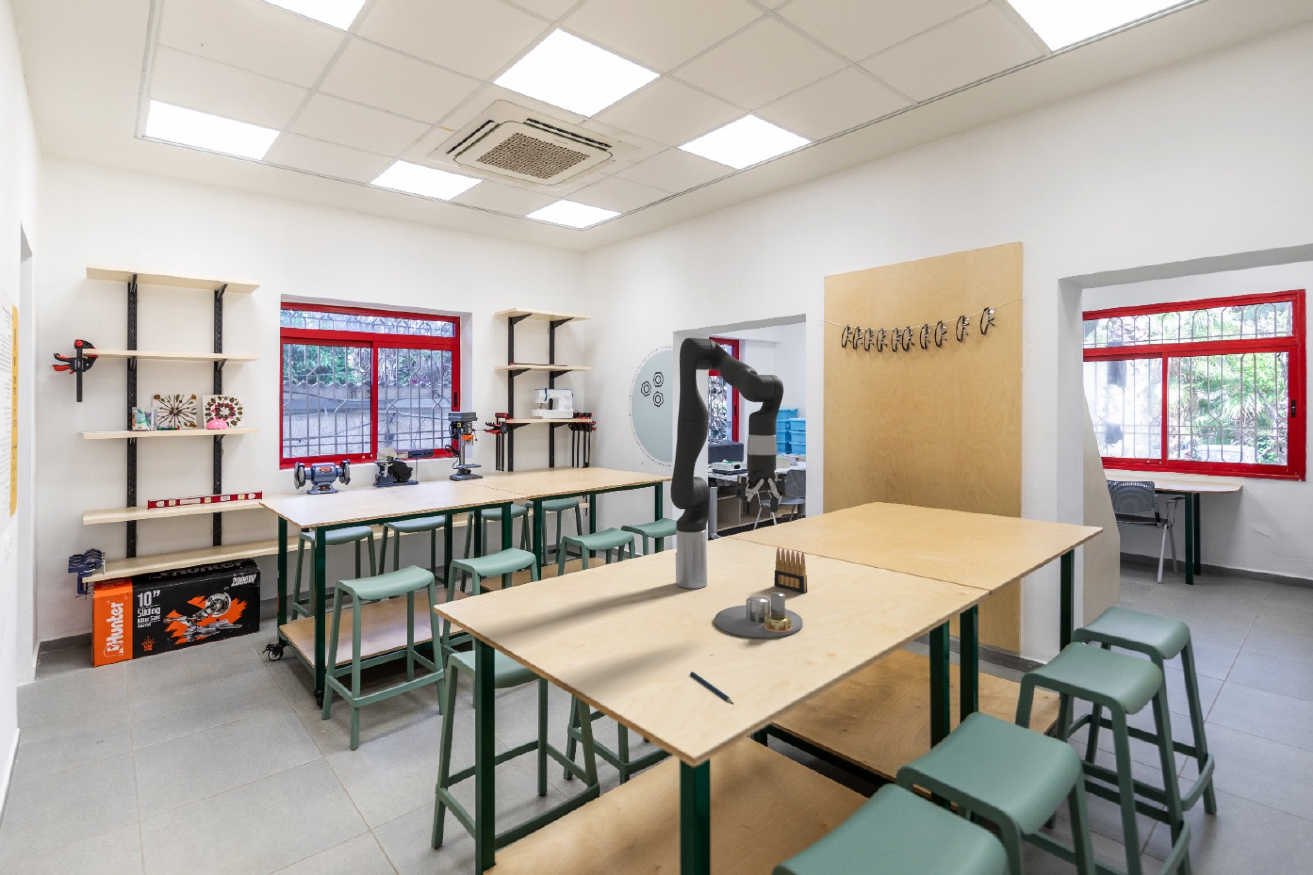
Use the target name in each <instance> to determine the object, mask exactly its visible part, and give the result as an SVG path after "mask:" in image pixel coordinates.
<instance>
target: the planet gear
mask: <svg viewBox="0 0 1313 875" xmlns="http://www.w3.org/2000/svg"><path fill="white" fill-rule="evenodd" d="M770 606H771V614H770V615H768V617H765V626H767V629H773V630H775V631H779V630H785V631H786V630H788V628H791V627H792V626H791V619H789V616H787V615H786V616H785V609H786V594H785V593H784V592H780V591H773V592H770Z"/></svg>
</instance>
